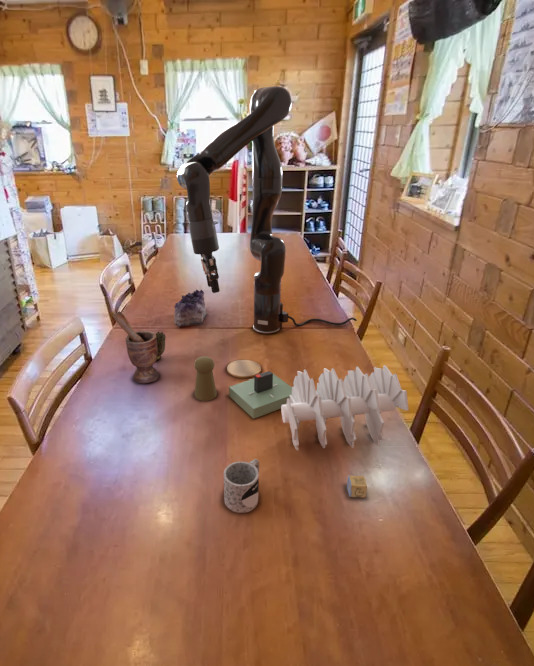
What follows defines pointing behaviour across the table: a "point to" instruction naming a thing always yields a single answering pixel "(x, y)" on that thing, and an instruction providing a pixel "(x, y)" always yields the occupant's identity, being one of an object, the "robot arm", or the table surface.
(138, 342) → the mortar and pestle
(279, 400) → the control panel
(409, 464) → the table surface
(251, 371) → the coaster
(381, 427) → the spiral staircase
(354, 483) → the alphabet block
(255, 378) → the black block red tip
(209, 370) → the olive round-headed cylinder
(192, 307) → the geode
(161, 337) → the ornate metal bell
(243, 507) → the grey thin strip
